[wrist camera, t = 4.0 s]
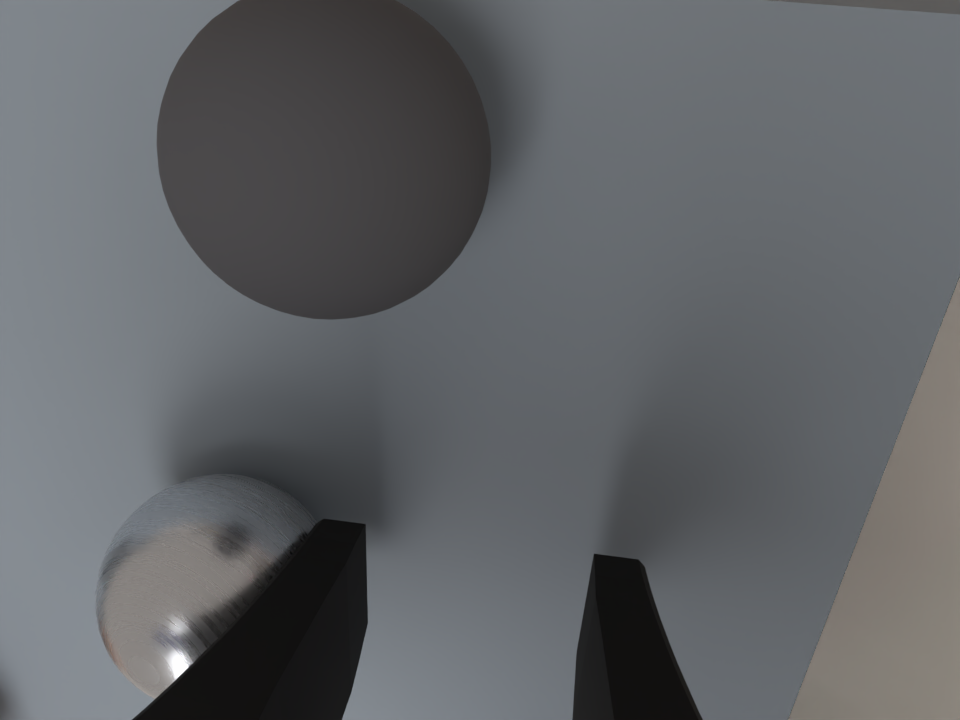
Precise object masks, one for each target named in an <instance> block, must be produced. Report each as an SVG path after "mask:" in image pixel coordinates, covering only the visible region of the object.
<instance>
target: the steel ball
mask: <svg viewBox="0 0 960 720" xmlns="http://www.w3.org/2000/svg"><path fill="white" fill-rule="evenodd" d="M316 523H317V522H316V520H315V519H314V518H313V516H312V515H311V514H310V513H309V511H308V510H307V509H306V508H305V507H304V506H303V505H302V504H301V503H300V502H299V501H297V500H296V499H295V498H294V497H292V496H291V495H290V494H288V493H287V492H285V491H284V490H282V489H281V488H279V487H277V486H275V485H273V484H271V483H269V482H266V481H263V480H260V479H257V478H252V477H248V476H244V475H237V474H212V475H206V476H200V477H194V478H191V479H188V480H185V481H182V482H179V483H177V484H174V485H172V486H170V487H168V488H166V489H164V490H162V491H160V492H159V493H157V494H155V495H154V496H152V497H151V498H150V499H148V500H147V501H146V502H144V503H143V504H142V505H141V506H140V507H139V508H138V509H137V510H135V511H134V512H133V513H132V514H131V515H130V516H129V517H128V518H127V519H126V521H125V522H124V523H123V525H122V526H121V527H120V529H119V530H118V532H117V533H116V535H115V536H114V537H113V539H112V541H111V543H110V545H109V547H108V549H107V551H106V553H105V556H104V558H103V561H102V564H101V567H100V570H99V575H98V581H97V586H96V617H97V623H98V628H99V632H100V636H101V639H102V641H103V643H104V646H105V648H106V650H107V653H108V654H109V656H110V658H111V660H112V661H113V663H114V664H115V666H116V667H117V668H118V670H119V671H120V672H121V673H122V674H123V676H124V677H125V678H126V679H127V680H128V681H129V682H131V683H132V684H133V685H134V686H135V687H137V688H138V689H139V690H141V691H142V692H143V693H145V694H146V695H148V696H150V697H152V698H153V699H156V698H157V697H158V696H159V695H160V694H161V693H162V692H163V691H164V690H165V689H167V688H168V687H169V686H170V685H171V684H172V683H173V682H174V681H175V680H176V679H177V678H178V677H179V676H180V675H181V674H182V673H183V672H184V671H185V670H186V669H187V668H188V667H189V666H190V665H191V664H192V663H193V662H194V661H195V660H196V659H197V658H198V657H199V656H200V655H201V654H202V653H203V652H204V651H205V650H206V649H207V648H208V647H209V646H210V645H211V644H212V643H213V642H214V641H215V640H216V639H217V638H218V637H219V636H220V635H221V634H222V633H223V632H224V631H225V630H226V629H227V628H228V627H229V626H230V625H231V624H232V622H233V621H234V620H235V619H236V618H237V617H238V616H239V615H240V614H241V613H242V611H243V610H244V609H245V608H246V607H247V606H248V605H249V604H250V603H251V602H252V600H253V599H254V598H255V597H256V596H257V595H258V594H259V593H260V592H261V591H262V589H263V588H264V587H265V586H266V585H267V584H268V582H269V581H270V580H271V579H272V578H273V577H274V575H275V574H276V573H277V572H278V571H279V569H280V568H281V567H282V566H283V565H284V563H285V562H286V561H287V560H288V559H289V557H290V556H291V555H292V554H293V552H294V551H295V550H296V549H297V547H298V546H299V545H300V544H301V542H302V541H303V540H304V539H305V537H306V536H307V535H308V533H309V532H310V531H311V530H312V528H313V527H314V526H315V524H316Z"/></svg>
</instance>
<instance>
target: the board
mask: <svg viewBox="0 0 960 720" xmlns="http://www.w3.org/2000/svg"><path fill="white" fill-rule="evenodd" d="M237 1H239V0H0V720H132V719H133V718H134V717H136V716H137V715H138V714H139V713H140V712H141V711H142V710H143V709H145V708H146V707H147V706H148V705H149V704H150V703H151V702H152V701H154V700H155V699H153V698H152V697H150V696H148V695H146V694H145V693H143V692H142V691H141V690H139V689H138V688H137V687H135V686H134V685H133V684H132V683H131V682H129V681H128V680H127V679H126V678H125V677H124V676H123V674H122V673H121V672H120V671H119V670H118V668H117V667H116V666H115V664H114V663H113V661H112V660H111V658H110V656H109V654H108V653H107V650H106V648H105V646H104V643H103V641H102V639H101V636H100V632H99V628H98V623H97V617H96V586H97V581H98V575H99V570H100V567H101V564H102V561H103V558H104V556H105V553H106V551H107V549H108V547H109V545H110V543H111V541H112V539H113V537H114V536H115V535H116V533H117V532H118V530H119V529H120V527H121V526H122V525H123V523H124V522H125V521H126V519H127V518H128V517H129V516H130V515H131V514H132V513H133V512H134V511H135V510H137V509H138V508H139V507H140V506H141V505H142V504H143V503H144V502H146V501H147V500H148V499H150V498H151V497H152V496H154V495H155V494H157V493H159V492H160V491H162V490H164V489H166V488H168V487H170V486H172V485H174V484H177V483H179V482H182V481H185V480H188V479H191V478H194V477H200V476H206V475H212V474H237V475H244V476H248V477H252V478H257V479H260V480H263V481H266V482H269V483H271V484H273V485H275V486H277V487H279V488H281V489H282V490H284V491H285V492H287V493H288V494H290V495H291V496H292V497H294V498H295V499H296V500H297V501H299V502H300V503H301V504H302V505H303V506H304V507H305V508H306V509H307V510H308V511H309V513H310V514H311V515H312V516H313V518H314V519H315V520H316V522H317V523H318V522H319V521H321V520H322V519H332V520H339V521H347V522H355V523H362V524H366V560H367V604H368V625H367V629H366V634H365V638H364V642H363V646H362V651H361V655H360V659H359V664H358V668H357V672H356V676H355V680H354V684H353V688H352V692H351V695H350V698H349V701H348V704H347V706H346V709H345V712H344V715H343V718H342V720H572V719H573V701H574V685H575V669H576V653H577V647H578V641H579V635H580V630H581V624H582V618H583V613H584V607H585V601H586V595H587V590H588V584H589V578H590V573H591V567H592V561H593V556H594V554H601V555H609V556H616V557H624V558H632V559H639V561H640V562H641V563H642V564H643V565H644V566H645V569H646V573H647V577H648V581H649V584H650V588H651V591H652V594H653V598H654V601H655V604H656V607H657V610H658V613H659V616H660V619H661V621H662V624H663V627H664V629H665V632H666V635H667V637H668V640H669V643H670V645H671V648H672V650H673V653H674V655H675V658H676V660H677V663H678V665H679V668H680V670H681V672H682V674H683V677H684V679H685V681H686V683H687V686H688V688H689V690H690V693H691V695H692V697H693V699H694V702H695V704H696V706H697V709H698V711H699V713H700V715H701V717H702V719H703V720H788V718H789V716H790V713H791V711H792V708H793V705H794V703H795V700H796V698H797V695H798V692H799V690H800V687H801V685H802V682H803V680H804V677H805V674H806V672H807V669H808V667H809V664H810V661H811V659H812V656H813V654H814V651H815V649H816V646H817V643H818V641H819V638H820V636H821V633H822V631H823V628H824V625H825V623H826V620H827V618H828V615H829V612H830V610H831V607H832V605H833V602H834V600H835V597H836V594H837V592H838V589H839V587H840V584H841V581H842V579H843V576H844V574H845V571H846V569H847V566H848V563H849V561H850V558H851V556H852V553H853V550H854V548H855V545H856V543H857V540H858V538H859V535H860V532H861V530H862V527H863V525H864V522H865V519H866V517H867V514H868V512H869V509H870V507H871V504H872V501H873V499H874V496H875V494H876V491H877V488H878V486H879V483H880V481H881V478H882V476H883V473H884V470H885V468H886V465H887V463H888V460H889V457H890V455H891V452H892V450H893V447H894V445H895V442H896V439H897V437H898V434H899V432H900V429H901V426H902V424H903V421H904V419H905V416H906V414H907V411H908V408H909V406H910V403H911V401H912V398H913V395H914V393H915V390H916V388H917V385H918V383H919V380H920V377H921V375H922V372H923V370H924V367H925V364H926V362H927V359H928V357H929V354H930V352H931V349H932V346H933V344H934V341H935V339H936V336H937V333H938V331H939V328H940V326H941V323H942V321H943V318H944V315H945V313H946V310H947V308H948V305H949V302H950V300H951V297H952V295H953V292H954V290H955V287H956V284H957V282H958V279H959V277H960V0H396V1H398V2H400V3H401V4H403V5H405V6H406V7H408V8H410V9H411V10H413V11H414V12H416V13H417V14H419V15H420V16H421V17H422V18H424V19H425V20H426V21H427V22H428V23H430V24H431V25H432V26H433V27H434V28H435V29H436V30H437V31H438V32H439V33H440V34H441V35H442V36H443V37H444V38H445V39H446V40H447V41H448V42H449V43H450V45H451V46H452V47H453V49H454V50H455V51H456V53H457V54H458V55H459V57H460V58H461V59H462V61H463V63H464V65H465V66H466V68H467V70H468V72H469V73H470V75H471V77H472V79H473V81H474V83H475V86H476V88H477V90H478V93H479V95H480V98H481V100H482V104H483V107H484V111H485V115H486V118H487V122H488V127H489V135H490V142H491V170H490V178H489V185H488V192H487V196H486V200H485V204H484V207H483V211H482V214H481V216H480V218H479V221H478V223H477V225H476V228H475V230H474V232H473V234H472V236H471V238H470V239H469V241H468V242H467V244H466V246H465V247H464V249H463V251H462V252H461V254H460V255H459V256H458V257H457V259H456V260H455V261H454V262H453V264H452V265H451V266H450V267H449V268H448V269H447V270H446V271H445V272H444V273H443V274H442V275H441V276H440V277H439V278H438V279H437V280H436V281H434V282H433V283H432V284H431V285H430V286H429V287H427V288H426V289H424V290H423V291H422V292H420V293H419V294H417V295H416V296H414V297H412V298H410V299H408V300H406V301H404V302H402V303H400V304H398V305H396V306H394V307H392V308H390V309H387V310H384V311H381V312H378V313H375V314H371V315H366V316H361V317H356V318H347V319H333V320H328V319H312V318H306V317H300V316H294V315H291V314H287V313H284V312H280V311H277V310H274V309H272V308H269V307H267V306H264V305H262V304H260V303H257V302H255V301H254V300H252V299H250V298H248V297H246V296H244V295H242V294H241V293H239V292H238V291H236V290H235V289H233V288H232V287H230V286H229V285H228V284H226V283H225V282H224V281H223V280H222V279H220V278H219V277H218V276H217V275H216V274H214V273H213V272H212V271H211V270H210V269H209V268H208V267H207V266H206V264H205V263H204V262H203V261H202V260H201V259H200V258H199V257H198V255H197V254H196V253H195V252H194V250H193V249H192V248H191V246H190V245H189V244H188V242H187V240H186V239H185V237H184V236H183V234H182V232H181V231H180V229H179V228H178V226H177V224H176V222H175V220H174V218H173V216H172V213H171V211H170V209H169V207H168V204H167V201H166V198H165V195H164V192H163V188H162V184H161V179H160V175H159V168H158V157H157V145H156V143H157V123H158V118H159V112H160V107H161V103H162V99H163V96H164V93H165V90H166V87H167V84H168V81H169V78H170V75H171V74H172V72H173V70H174V68H175V66H176V64H177V62H178V60H179V58H180V57H181V55H182V54H183V53H184V51H185V50H186V48H187V47H188V46H189V44H190V43H191V42H192V40H193V39H194V37H195V36H196V35H197V33H199V32H200V31H201V30H202V29H203V28H204V27H205V26H206V25H207V24H208V23H209V22H210V21H211V20H212V19H213V18H214V17H216V16H217V15H219V14H220V13H221V12H223V11H224V10H226V9H227V8H228V7H230V6H231V5H233V4H234V3H236V2H237Z"/></svg>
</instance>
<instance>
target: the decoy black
mask: <svg viewBox="0 0 960 720" xmlns="http://www.w3.org/2000/svg"><path fill="white" fill-rule="evenodd" d="M156 145H157V157H158V168H159V175H160V179H161V184H162V188H163V192H164V195H165V198H166V201H167V204H168V207H169V209H170V211H171V213H172V216H173V218H174V220H175V222H176V224H177V226H178V228H179V229H180V231H181V232H182V234H183V236H184V237H185V239H186V240H187V242H188V244H189V245H190V246H191V248H192V249H193V250H194V252H195V253H196V254H197V255H198V257H199V258H200V259H201V260H202V261H203V262H204V263H205V264H206V266H207V267H208V268H209V269H210V270H211V271H212V272H213V273H214V274H216V275H217V276H218V277H219V278H220V279H222V280H223V281H224V282H225V283H226V284H228V285H229V286H230V287H232V288H233V289H235V290H236V291H238V292H239V293H241V294H242V295H244V296H246V297H248V298H250V299H252V300H254V301H255V302H257V303H260V304H262V305H264V306H267V307H269V308H272V309H274V310H277V311H280V312H284V313H287V314H291V315H294V316H300V317H306V318H312V319H328V320H333V319H347V318H356V317H361V316H366V315H371V314H375V313H378V312H381V311H384V310H387V309H390V308H392V307H394V306H396V305H398V304H400V303H402V302H404V301H406V300H408V299H410V298H412V297H414V296H416V295H417V294H419V293H420V292H422V291H423V290H424V289H426V288H427V287H429V286H430V285H431V284H432V283H433V282H434V281H436V280H437V279H438V278H439V277H440V276H441V275H442V274H443V273H444V272H445V271H446V270H447V269H448V268H449V267H450V266H451V265H452V264H453V262H454V261H455V260H456V259H457V257H458V256H459V255H460V254H461V252H462V251H463V249H464V247H465V246H466V244H467V242H468V241H469V239H470V238H471V236H472V234H473V232H474V230H475V228H476V225H477V223H478V221H479V218H480V216H481V214H482V211H483V207H484V204H485V200H486V196H487V192H488V185H489V178H490V170H491V142H490V135H489V127H488V122H487V118H486V115H485V111H484V107H483V104H482V100H481V98H480V95H479V93H478V90H477V88H476V86H475V83H474V81H473V79H472V77H471V75H470V73H469V72H468V70H467V68H466V66H465V65H464V63H463V61H462V59H461V58H460V57H459V55H458V54H457V53H456V51H455V50H454V49H453V47H452V46H451V45H450V43H449V42H448V41H447V40H446V39H445V38H444V37H443V36H442V35H441V34H440V33H439V32H438V31H437V30H436V29H435V28H434V27H433V26H432V25H431V24H430V23H428V22H427V21H426V20H425V19H424V18H422V17H421V16H420V15H419V14H417V13H416V12H414V11H413V10H411V9H410V8H408V7H406V6H405V5H403V4H401V3H400V2H398V1H396V0H239V1H237V2H236V3H234V4H233V5H231V6H230V7H228V8H227V9H226V10H224V11H223V12H221V13H220V14H219V15H217V16H216V17H214V18H213V19H212V20H211V21H210V22H209V23H208V24H207V25H206V26H205V27H204V28H203V29H202V30H201V31H200V32H199V33H197V35H196V36H195V37H194V39H193V40H192V42H191V43H190V44H189V46H188V47H187V48H186V50H185V51H184V53H183V54H182V55H181V57H180V58H179V60H178V62H177V64H176V66H175V68H174V70H173V72H172V74H171V75H170V78H169V81H168V84H167V87H166V90H165V93H164V96H163V99H162V103H161V107H160V112H159V118H158V123H157V143H156Z"/></svg>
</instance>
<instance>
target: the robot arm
mask: <svg viewBox="0 0 960 720" xmlns="http://www.w3.org/2000/svg"><path fill="white" fill-rule="evenodd" d="M367 625H368V604H367V560H366V524H362V523H355V522H347V521H339V520H332V519H322V520H321V521H319V522H318V523H316V524H315V526H314V527H313V528H312V530H311V531H310V532H309V533H308V535H307V536H306V537H305V539H304V540H303V541H302V542H301V544H300V545H299V546H298V547H297V549H296V550H295V551H294V552H293V554H292V555H291V556H290V557H289V559H288V560H287V561H286V562H285V563H284V565H283V566H282V567H281V568H280V569H279V571H278V572H277V573H276V574H275V575H274V577H273V578H272V579H271V580H270V581H269V582H268V584H267V585H266V586H265V587H264V588H263V589H262V591H261V592H260V593H259V594H258V595H257V596H256V597H255V598H254V599H253V600H252V602H251V603H250V604H249V605H248V606H247V607H246V608H245V609H244V610H243V611H242V613H241V614H240V615H239V616H238V617H237V618H236V619H235V620H234V621H233V622H232V624H231V625H230V626H229V627H228V628H227V629H226V630H225V631H224V632H223V633H222V634H221V635H220V636H219V637H218V638H217V639H216V640H215V641H214V642H213V643H212V644H211V645H210V646H209V647H208V648H207V649H206V650H205V651H204V652H203V653H202V654H201V655H200V656H199V657H198V658H197V659H196V660H195V661H194V662H193V663H192V664H191V665H190V666H189V667H188V668H187V669H186V670H185V671H184V672H183V673H182V674H181V675H180V676H179V677H178V678H177V679H176V680H175V681H174V682H173V683H172V684H171V685H170V686H169V687H168V688H167V689H165V690H164V691H163V692H162V693H161V694H160V695H159V696H158V697H157V698H156V699H155V700H154V701H152V702H151V703H150V704H149V705H148V706H147V707H146V708H145V709H143V710H142V711H141V712H140V713H139V714H138V715H137V716H136V717H134V718H133V719H132V720H342V718H343V715H344V712H345V709H346V706H347V704H348V701H349V698H350V695H351V692H352V688H353V684H354V680H355V676H356V672H357V668H358V664H359V659H360V655H361V651H362V646H363V642H364V638H365V634H366V629H367ZM572 720H703V719H702V717H701V715H700V713H699V711H698V709H697V706H696V704H695V702H694V699H693V697H692V695H691V693H690V690H689V688H688V686H687V683H686V681H685V679H684V677H683V674H682V672H681V670H680V668H679V665H678V663H677V660H676V658H675V655H674V653H673V650H672V648H671V645H670V643H669V640H668V637H667V635H666V632H665V629H664V627H663V624H662V621H661V619H660V616H659V613H658V610H657V607H656V604H655V601H654V598H653V594H652V591H651V588H650V584H649V581H648V577H647V573H646V569H645V566H644V565H643V564H642V563H641V562H640V561H639V559H632V558H624V557H616V556H609V555H601V554H594V556H593V561H592V567H591V573H590V578H589V584H588V590H587V595H586V601H585V607H584V613H583V618H582V624H581V630H580V635H579V641H578V647H577V653H576V669H575V685H574V701H573V719H572Z"/></svg>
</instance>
